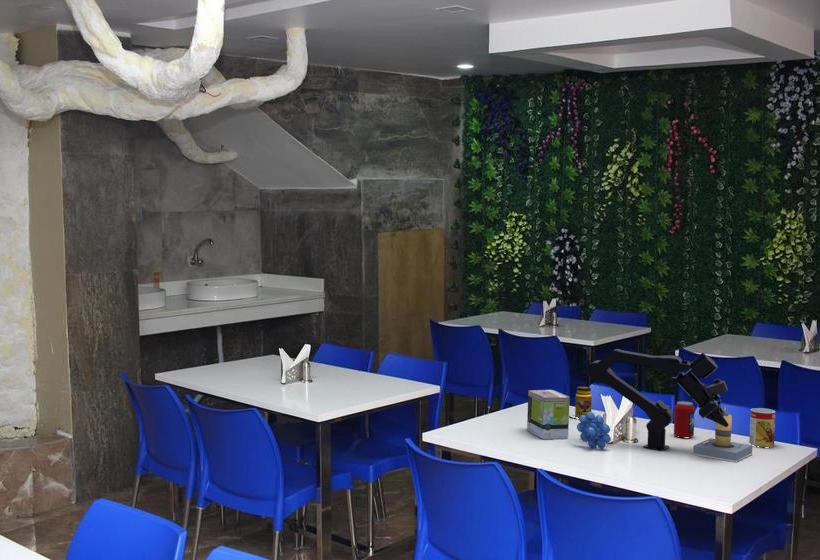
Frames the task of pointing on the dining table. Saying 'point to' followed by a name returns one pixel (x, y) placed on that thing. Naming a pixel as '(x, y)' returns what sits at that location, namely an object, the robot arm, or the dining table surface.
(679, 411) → the beverage can
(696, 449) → the grey square holder
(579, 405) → the condiment
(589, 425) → the grapes
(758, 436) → the canned food
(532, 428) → the tea box
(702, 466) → the dining table surface
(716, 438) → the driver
